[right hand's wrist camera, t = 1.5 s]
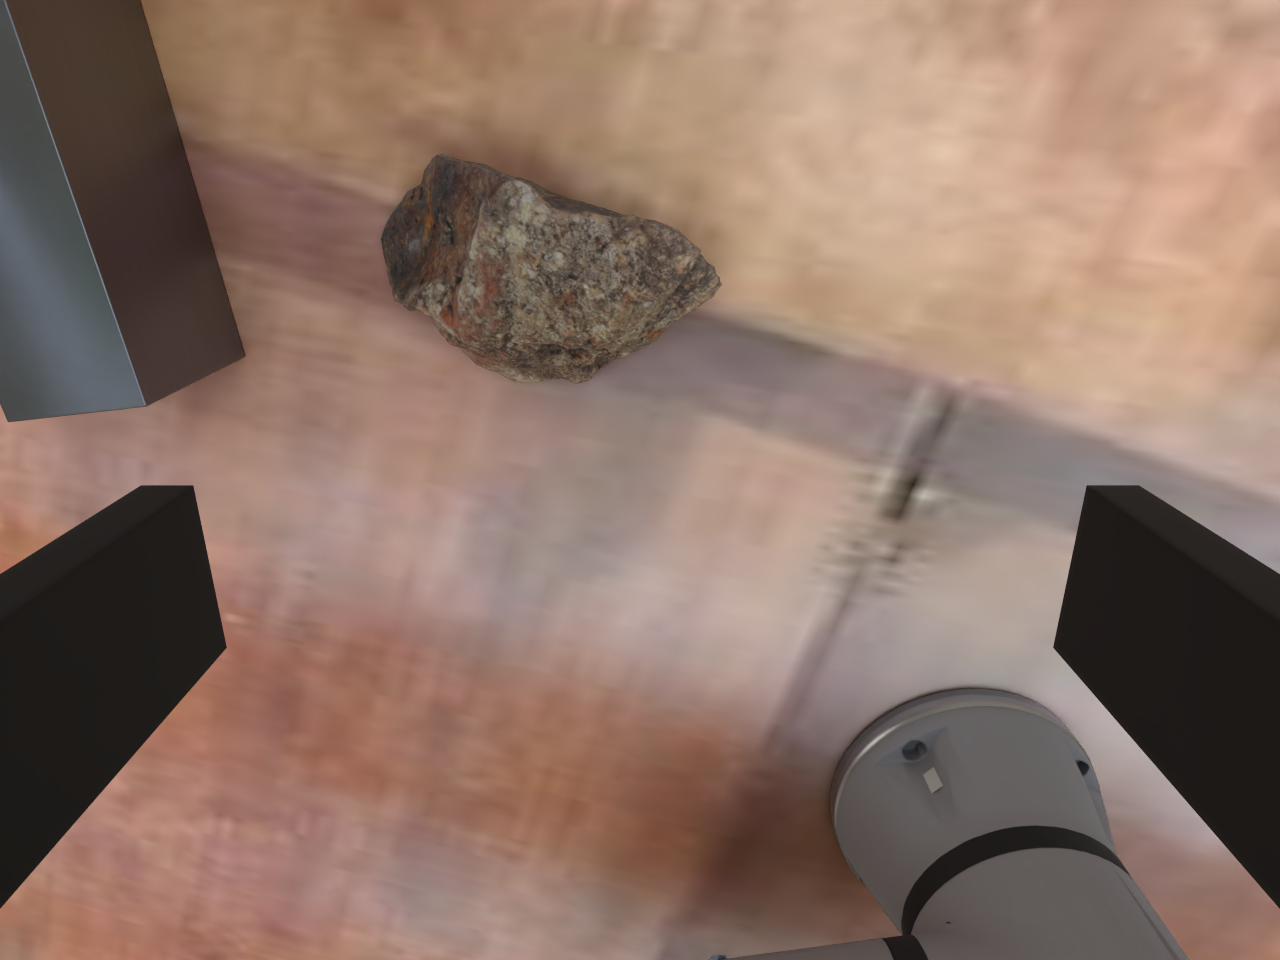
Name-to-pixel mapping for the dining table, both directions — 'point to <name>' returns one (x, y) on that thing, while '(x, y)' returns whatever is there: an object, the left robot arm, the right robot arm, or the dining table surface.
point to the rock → (536, 273)
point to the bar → (98, 220)
